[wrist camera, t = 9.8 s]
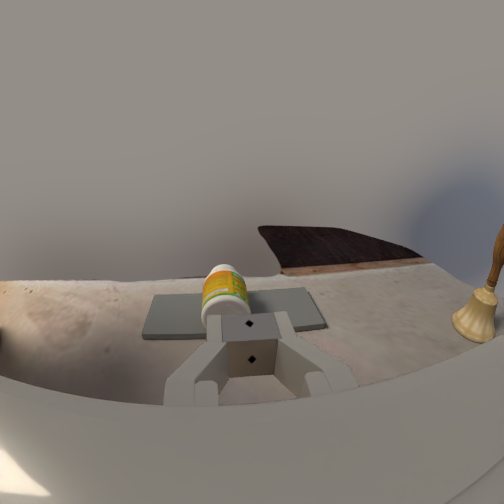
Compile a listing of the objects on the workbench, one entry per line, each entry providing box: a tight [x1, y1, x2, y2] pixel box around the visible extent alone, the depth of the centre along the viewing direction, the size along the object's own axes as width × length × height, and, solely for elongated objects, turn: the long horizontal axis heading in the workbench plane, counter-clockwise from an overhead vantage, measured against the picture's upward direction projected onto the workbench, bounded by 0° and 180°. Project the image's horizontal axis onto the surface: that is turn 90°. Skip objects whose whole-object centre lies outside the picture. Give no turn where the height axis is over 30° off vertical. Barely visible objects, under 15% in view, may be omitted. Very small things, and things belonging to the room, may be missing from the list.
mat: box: [142, 287, 325, 339], centre depth 35 cm, size 22×9×1 cm, turn 97°
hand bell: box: [452, 224, 504, 343], centre depth 26 cm, size 8×8×16 cm
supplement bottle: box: [201, 264, 251, 329], centre depth 33 cm, size 5×5×10 cm
